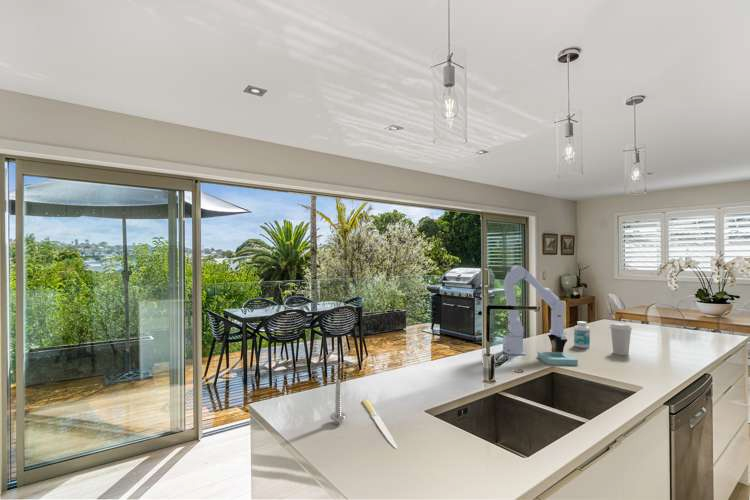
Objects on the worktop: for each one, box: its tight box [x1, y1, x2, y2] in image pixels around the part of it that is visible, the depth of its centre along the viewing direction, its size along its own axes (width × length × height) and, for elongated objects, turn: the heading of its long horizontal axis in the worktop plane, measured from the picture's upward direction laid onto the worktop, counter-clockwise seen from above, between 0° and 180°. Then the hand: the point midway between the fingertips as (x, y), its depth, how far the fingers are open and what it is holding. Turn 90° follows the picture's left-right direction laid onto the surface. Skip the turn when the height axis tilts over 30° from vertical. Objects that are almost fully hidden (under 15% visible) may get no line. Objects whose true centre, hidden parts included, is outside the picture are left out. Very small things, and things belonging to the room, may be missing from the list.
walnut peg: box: [551, 340, 558, 352], centre depth 190 cm, size 4×4×7 cm
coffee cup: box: [609, 322, 633, 356], centre depth 192 cm, size 10×10×15 cm
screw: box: [329, 379, 347, 426], centre depth 113 cm, size 13×5×5 cm
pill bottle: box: [573, 320, 591, 349], centre depth 206 cm, size 8×7×14 cm
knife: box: [361, 398, 398, 450], centre depth 115 cm, size 1×33×5 cm
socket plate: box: [537, 351, 579, 366], centre depth 178 cm, size 13×13×2 cm
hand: (557, 350), depth 190 cm, fingers open, 6 cm apart
